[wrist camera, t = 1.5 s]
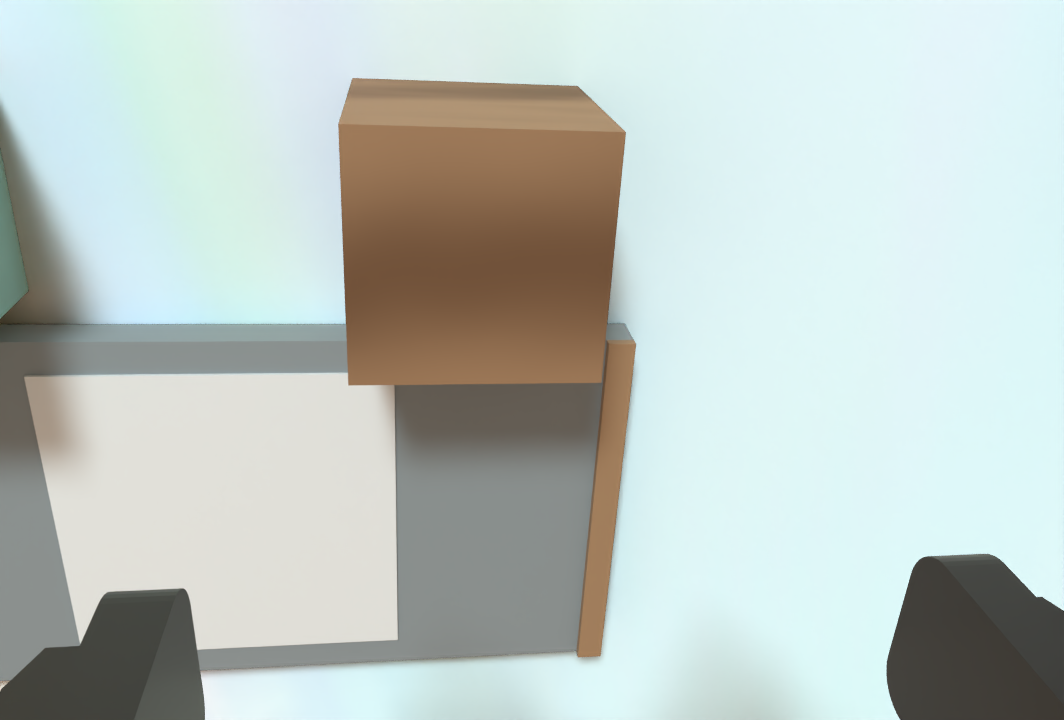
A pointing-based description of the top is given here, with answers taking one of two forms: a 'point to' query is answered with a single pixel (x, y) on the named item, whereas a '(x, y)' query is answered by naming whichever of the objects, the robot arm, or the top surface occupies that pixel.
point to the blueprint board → (300, 496)
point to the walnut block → (476, 232)
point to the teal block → (9, 252)
